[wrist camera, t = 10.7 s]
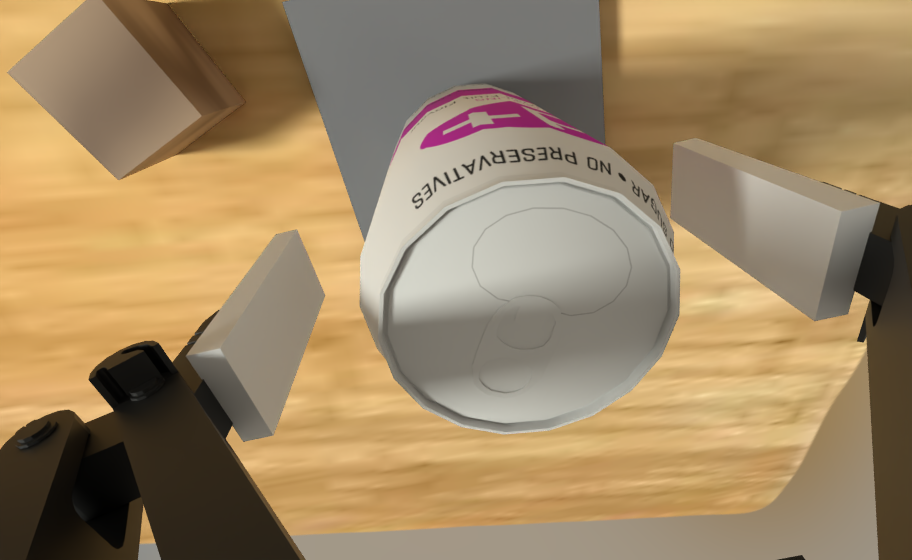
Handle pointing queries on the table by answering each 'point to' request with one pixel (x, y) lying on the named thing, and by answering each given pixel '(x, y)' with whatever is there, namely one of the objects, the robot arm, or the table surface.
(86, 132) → the walnut block
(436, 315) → the supplement can
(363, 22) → the slate board
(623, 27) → the table surface
